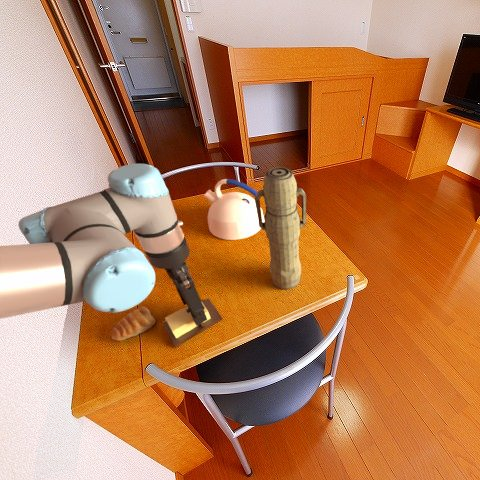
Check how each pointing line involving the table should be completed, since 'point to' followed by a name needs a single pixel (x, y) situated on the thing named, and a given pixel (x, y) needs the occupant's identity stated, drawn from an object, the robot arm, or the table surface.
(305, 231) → the table surface
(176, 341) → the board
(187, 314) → the butter block
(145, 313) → the pastry
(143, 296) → the robot arm
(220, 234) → the kettle
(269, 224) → the thermos
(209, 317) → the butter slice
